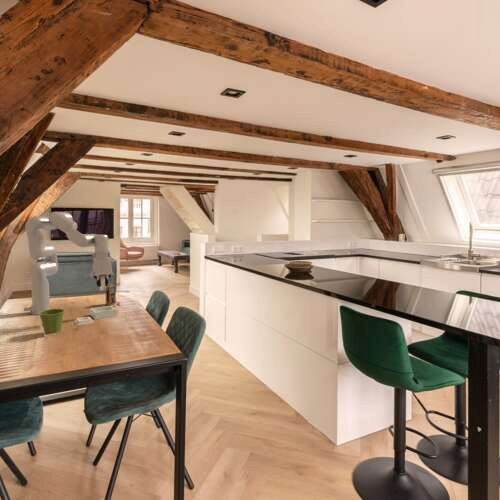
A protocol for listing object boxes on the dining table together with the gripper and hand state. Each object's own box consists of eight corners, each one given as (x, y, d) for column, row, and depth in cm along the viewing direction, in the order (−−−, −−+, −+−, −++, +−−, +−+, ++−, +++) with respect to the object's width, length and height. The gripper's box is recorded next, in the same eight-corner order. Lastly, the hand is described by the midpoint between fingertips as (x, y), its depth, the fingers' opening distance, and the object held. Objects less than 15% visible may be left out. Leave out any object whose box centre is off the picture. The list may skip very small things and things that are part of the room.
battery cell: (100, 291, 213) (99, 274, 212) (98, 290, 216) (98, 273, 215) (106, 290, 215) (106, 274, 214) (105, 289, 218) (104, 273, 217)
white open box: (95, 321, 208) (94, 312, 208) (90, 316, 218) (90, 308, 217) (116, 317, 215) (116, 309, 215) (111, 313, 225) (110, 305, 224)
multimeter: (116, 307, 240) (115, 277, 238) (103, 306, 242) (102, 277, 240) (128, 302, 254) (127, 274, 252) (115, 302, 256) (114, 274, 254)
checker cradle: (77, 326, 197) (77, 322, 197) (74, 322, 204) (74, 318, 204) (94, 323, 202) (94, 319, 202) (91, 320, 210) (91, 316, 210)
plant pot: (41, 330, 189) (40, 309, 188) (66, 328, 194) (66, 308, 193) (37, 337, 178) (36, 315, 177) (64, 335, 182) (63, 313, 182)
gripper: (88, 256, 206) (89, 288, 207) (117, 255, 215) (118, 285, 217) (85, 255, 212) (86, 286, 213) (114, 254, 221) (115, 283, 223)
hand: (102, 285), depth 215 cm, fingers closed on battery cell, 3 cm apart
